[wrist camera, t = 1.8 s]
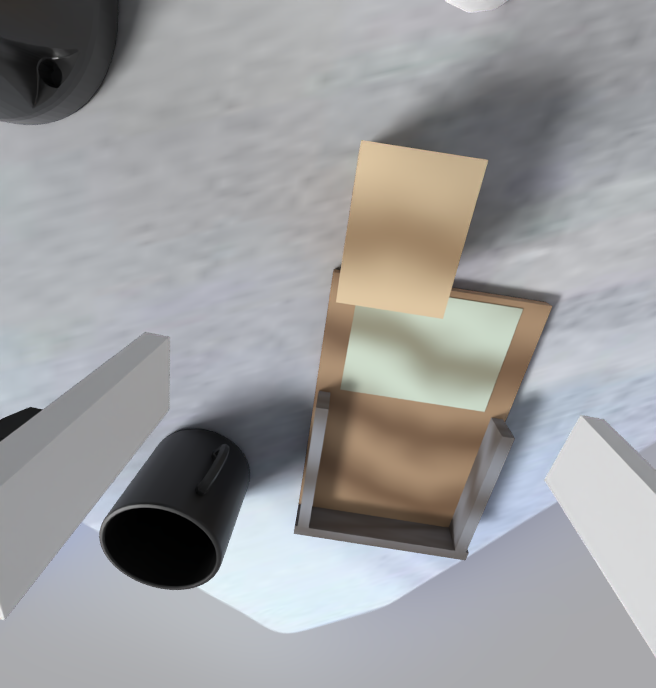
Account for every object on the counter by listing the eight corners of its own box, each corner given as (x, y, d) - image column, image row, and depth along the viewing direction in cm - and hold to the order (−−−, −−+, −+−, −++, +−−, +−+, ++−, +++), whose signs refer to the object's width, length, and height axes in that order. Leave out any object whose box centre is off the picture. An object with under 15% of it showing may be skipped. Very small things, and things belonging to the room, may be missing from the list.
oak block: (359, 151, 25) (361, 140, 18) (448, 165, 25) (488, 160, 18) (340, 269, 28) (335, 302, 21) (419, 282, 28) (442, 318, 21)
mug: (284, 444, 35) (262, 527, 27) (221, 516, 39) (186, 606, 31) (196, 390, 33) (144, 460, 25) (140, 471, 38) (79, 554, 29)
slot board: (333, 269, 28) (331, 281, 25) (545, 302, 28) (570, 318, 25) (298, 503, 38) (293, 533, 35) (455, 528, 38) (465, 560, 35)
